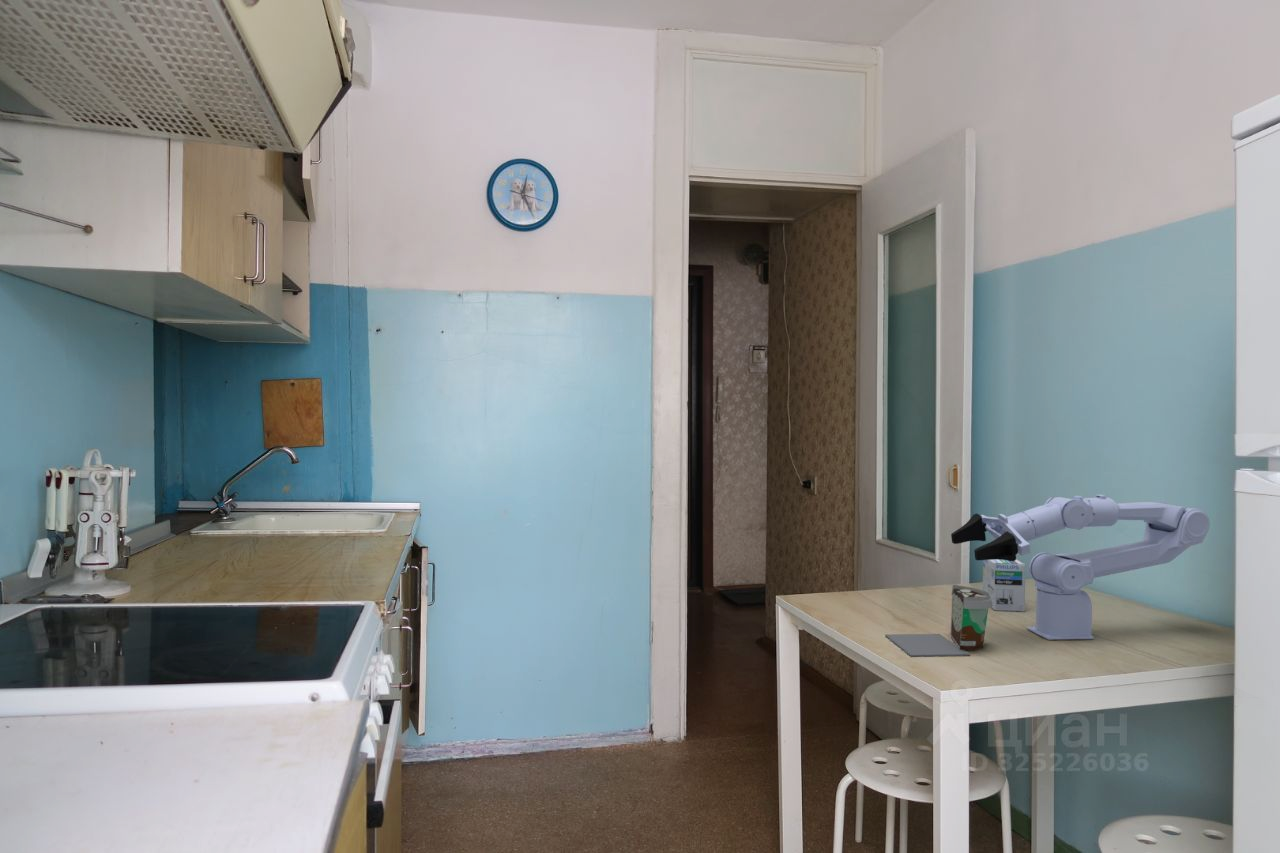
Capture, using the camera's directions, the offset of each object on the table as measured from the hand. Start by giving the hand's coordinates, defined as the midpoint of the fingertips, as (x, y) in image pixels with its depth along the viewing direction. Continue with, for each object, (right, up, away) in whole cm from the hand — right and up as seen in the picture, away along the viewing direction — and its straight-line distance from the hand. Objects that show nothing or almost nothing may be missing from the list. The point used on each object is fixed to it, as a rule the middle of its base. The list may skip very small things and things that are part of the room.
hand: (963, 546), depth 158 cm
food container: (0, -18, -4) cm, 19 cm away
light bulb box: (+20, -18, +27) cm, 37 cm away
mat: (-9, -18, -4) cm, 21 cm away
